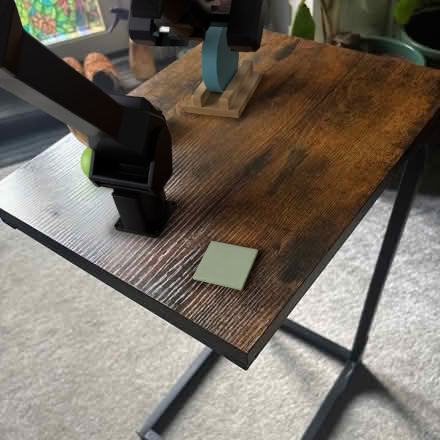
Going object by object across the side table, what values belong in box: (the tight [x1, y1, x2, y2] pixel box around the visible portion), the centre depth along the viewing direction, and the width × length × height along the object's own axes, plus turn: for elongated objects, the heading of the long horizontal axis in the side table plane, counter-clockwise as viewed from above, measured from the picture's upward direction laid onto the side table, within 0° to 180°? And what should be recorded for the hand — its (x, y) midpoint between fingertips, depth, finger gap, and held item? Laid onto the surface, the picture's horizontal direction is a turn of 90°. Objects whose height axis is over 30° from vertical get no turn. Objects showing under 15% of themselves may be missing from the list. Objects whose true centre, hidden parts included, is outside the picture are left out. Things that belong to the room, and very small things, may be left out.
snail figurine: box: [66, 124, 92, 179], centre depth 62 cm, size 5×6×12 cm
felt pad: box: [192, 240, 259, 291], centre depth 54 cm, size 6×6×1 cm
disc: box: [200, 27, 240, 93], centre depth 72 cm, size 10×2×10 cm, turn 159°
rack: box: [185, 59, 263, 119], centre depth 75 cm, size 12×9×3 cm
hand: (215, 44), depth 69 cm, fingers open, 9 cm apart
